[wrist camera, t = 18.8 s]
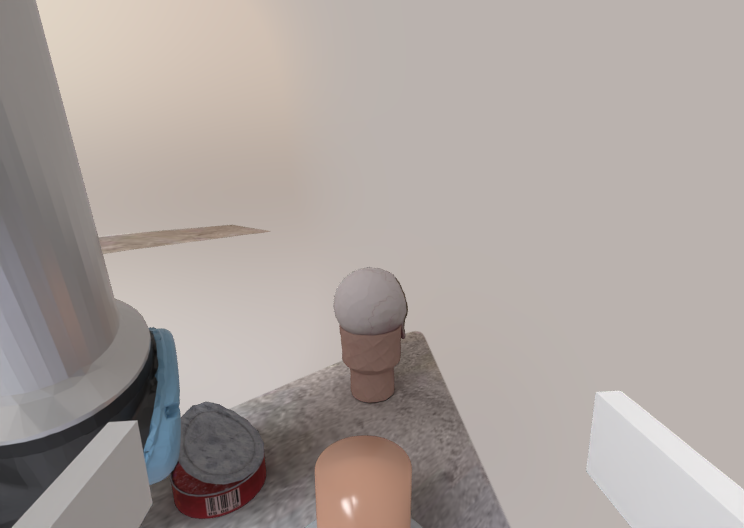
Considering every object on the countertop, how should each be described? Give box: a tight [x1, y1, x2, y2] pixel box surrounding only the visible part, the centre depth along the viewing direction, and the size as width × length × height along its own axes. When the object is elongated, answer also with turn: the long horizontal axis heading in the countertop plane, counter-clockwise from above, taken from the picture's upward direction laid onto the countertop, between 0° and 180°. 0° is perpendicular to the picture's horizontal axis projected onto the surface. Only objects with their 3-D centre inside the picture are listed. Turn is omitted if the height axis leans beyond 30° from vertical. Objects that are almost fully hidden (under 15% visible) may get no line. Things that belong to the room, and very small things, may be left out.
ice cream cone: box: [334, 267, 408, 403], centre depth 61 cm, size 11×11×20 cm
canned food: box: [170, 402, 266, 519], centre depth 45 cm, size 11×10×10 cm
